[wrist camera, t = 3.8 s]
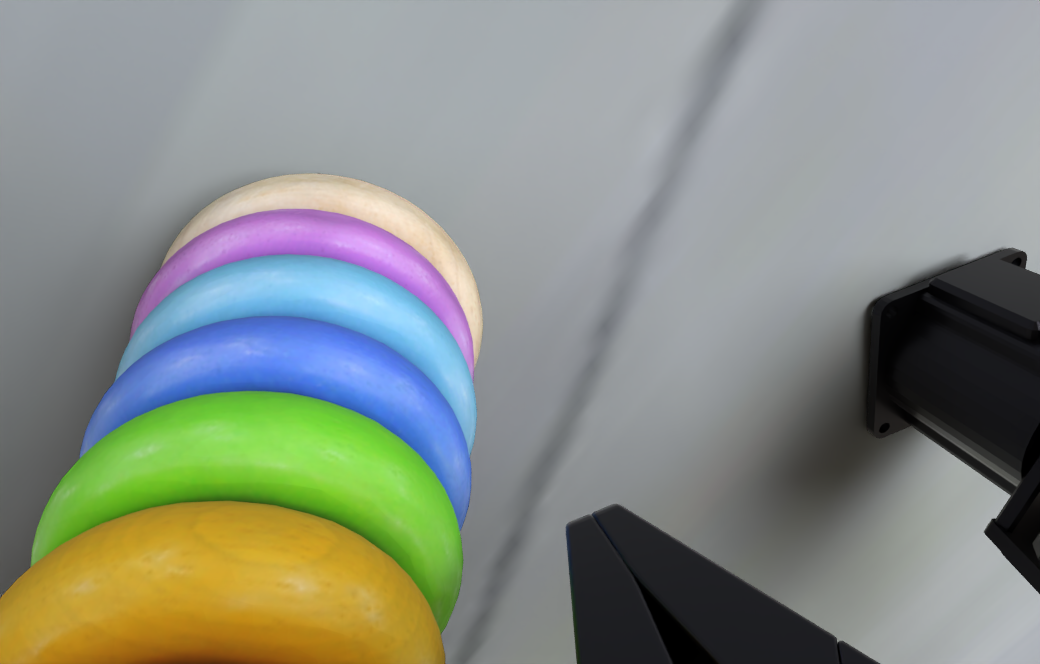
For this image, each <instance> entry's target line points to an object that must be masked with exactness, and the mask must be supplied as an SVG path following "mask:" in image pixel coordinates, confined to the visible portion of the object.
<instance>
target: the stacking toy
mask: <svg viewBox="0 0 1040 664" xmlns="http://www.w3.org/2000/svg"><path fill="white" fill-rule="evenodd" d="M482 333H483V319H482V307H481V302H480V297H479V293H478V289H477V285H476V282H475V279H474V277H473V274H472V272H471V270H470V268H469V266H468V264H467V262H466V260H465V258H464V257H463V255H462V253H461V252H460V250H459V249H458V247H457V246H456V244H455V243H454V242H453V241H452V239H451V238H450V237H449V236H448V234H447V233H446V232H445V231H444V230H443V229H442V228H441V227H440V226H439V225H438V224H437V223H436V222H435V221H434V220H433V219H431V218H430V217H429V216H428V215H427V214H426V213H425V212H423V211H422V210H421V209H419V208H418V207H416V206H415V205H413V204H412V203H410V202H409V201H407V200H406V199H404V198H402V197H400V196H398V195H396V194H394V193H392V192H390V191H388V190H386V189H384V188H381V187H378V186H376V185H373V184H370V183H367V182H365V181H361V180H357V179H352V178H347V177H342V176H335V175H327V174H292V175H283V176H278V177H272V178H267V179H264V180H260V181H257V182H254V183H251V184H248V185H245V186H243V187H240V188H238V189H236V190H233V191H231V192H229V193H227V194H225V195H223V196H222V197H220V198H218V199H217V200H215V201H214V202H212V203H211V204H209V205H208V206H206V207H205V208H204V209H202V210H201V211H200V212H199V213H198V214H197V215H196V216H195V217H193V218H192V219H191V220H190V222H189V223H188V224H187V225H186V226H185V227H184V228H183V229H182V230H181V232H180V233H179V235H178V236H177V237H176V239H175V241H174V242H173V244H172V245H171V247H170V249H169V250H168V252H167V254H166V257H165V259H164V261H163V263H162V266H161V269H160V270H159V271H158V272H157V273H156V275H155V276H154V277H153V279H152V280H151V282H150V283H149V284H148V286H147V288H146V290H145V291H144V293H143V295H142V297H141V299H140V302H139V304H138V306H137V309H136V312H135V315H134V319H133V323H132V327H131V334H130V340H129V344H128V346H127V347H126V349H125V352H124V354H123V356H122V359H121V361H120V364H119V367H118V371H117V374H116V378H115V382H114V383H113V385H112V386H111V387H110V388H109V389H108V391H107V392H106V393H105V394H104V396H103V398H102V399H101V401H100V403H99V404H98V406H97V408H96V409H95V411H94V413H93V415H92V417H91V419H90V422H89V424H88V426H87V429H86V431H85V435H84V439H83V442H82V446H81V451H80V457H79V460H78V461H77V462H76V463H75V464H74V466H73V467H72V468H71V469H70V470H69V471H68V472H67V473H66V474H65V476H64V477H63V478H62V479H61V481H60V482H59V484H58V486H57V487H56V489H55V490H54V492H53V493H52V495H51V497H50V499H49V501H48V503H47V505H46V507H45V509H44V512H43V514H42V517H41V519H40V522H39V525H38V527H37V530H36V534H35V539H34V543H33V547H32V555H31V568H29V569H28V570H27V571H26V572H25V573H24V574H23V575H22V576H20V577H19V578H18V579H17V580H16V581H15V582H14V583H13V584H12V586H11V587H10V588H9V589H8V590H7V591H6V592H5V593H4V594H3V595H2V597H1V598H0V664H445V653H444V648H443V644H442V639H441V633H442V632H443V630H444V629H445V627H446V625H447V623H448V621H449V618H450V616H451V614H452V611H453V609H454V606H455V603H456V601H457V598H458V594H459V590H460V586H461V578H462V569H463V552H462V542H461V536H460V530H461V528H462V525H463V523H464V520H465V517H466V513H467V510H468V507H469V500H470V492H471V462H470V454H471V450H472V447H473V444H474V438H475V431H476V420H477V409H476V399H475V392H474V387H473V379H474V368H475V365H476V362H477V359H478V356H479V352H480V347H481V340H482Z"/></svg>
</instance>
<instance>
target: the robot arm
mask: <svg viewBox="0 0 1040 664" xmlns="http://www.w3.org/2000/svg"><path fill="white" fill-rule="evenodd" d="M1026 261H1027V255H1026V253H1025V252H1023V251H1020V250H1017V249H1015V248H1008V249H1005V250H1003V251H1000V252H998V253H995V254H992V255H990V256H987V257H985V258H982V259H979V260H977V261H974V262H972V263H969V264H967V265H964V266H961V267H959V268H956V269H954V270H951V271H949V272H946V273H943V274H941V275H938V276H936V277H933V278H930V279H928V280H925V281H923V282H920V283H918V284H915V285H912V286H910V287H907V288H905V289H902V290H900V291H897V292H894V293H892V294H889V295H887V296H884V297H883V298H881V299H880V300H879V301H878V302H877V303H876V304H875V306H874V308H873V312H872V330H871V350H870V370H869V390H868V410H867V430H868V431H869V432H870V433H871V434H872V435H874V436H875V437H876V438H883V437H886V436H888V435H890V434H893V433H895V432H898V431H900V430H902V429H905V428H907V427H909V426H912V427H914V428H915V429H917V430H918V431H919V432H921V433H922V434H924V435H925V436H927V437H928V438H929V439H931V440H932V441H934V442H935V443H937V444H938V445H939V446H941V447H942V448H944V449H945V450H947V451H948V452H950V453H951V454H952V455H954V456H955V457H957V458H958V459H960V460H961V461H962V462H964V463H965V464H967V465H968V466H970V467H971V468H972V469H974V470H975V471H977V472H978V473H980V474H981V475H982V476H984V477H985V478H987V479H988V480H990V481H991V482H992V483H994V484H995V485H997V486H998V487H1000V488H1001V489H1002V490H1004V491H1005V492H1007V493H1008V494H1010V495H1011V497H1010V498H1009V500H1008V501H1007V503H1006V504H1005V506H1004V507H1003V509H1002V510H1001V512H1000V513H999V515H998V516H997V518H996V519H992V520H991V521H990V523H989V524H988V526H987V527H986V529H985V530H984V533H985V535H986V536H987V537H988V538H989V539H990V540H991V541H992V542H993V543H994V544H995V545H996V546H997V547H998V548H999V550H1000V551H1001V552H1002V554H1003V555H1004V556H1005V557H1006V559H1007V560H1008V561H1009V562H1010V563H1011V564H1012V565H1013V566H1014V567H1015V568H1016V569H1017V570H1018V571H1019V572H1020V573H1021V575H1022V576H1023V577H1024V578H1025V579H1026V580H1027V581H1028V582H1029V583H1030V584H1031V585H1032V586H1033V587H1034V588H1035V589H1036V591H1037V592H1038V593H1039V594H1040V274H1037V273H1034V272H1032V271H1029V270H1026V269H1025V267H1026ZM566 539H567V551H568V563H569V575H570V587H571V599H572V611H573V623H574V635H575V647H576V659H577V664H880V663H878V662H876V661H875V660H873V659H871V658H870V657H868V656H866V655H865V654H863V653H862V652H860V651H858V650H857V649H855V648H853V647H852V646H850V645H849V644H847V643H845V642H844V641H839V642H838V643H837V639H836V637H835V636H834V635H832V634H830V633H829V632H827V631H825V630H824V629H822V628H820V627H819V626H817V625H816V624H814V623H812V622H811V621H809V620H807V619H806V618H804V617H802V616H801V615H799V614H798V613H796V612H794V611H793V610H791V609H789V608H788V607H786V606H785V605H783V604H781V603H780V602H778V601H776V600H775V599H773V598H771V597H770V596H768V595H767V594H765V593H763V592H762V591H760V590H758V589H757V588H755V587H753V586H752V585H750V584H749V583H747V582H745V581H744V580H742V579H740V578H739V577H737V576H735V575H734V574H732V573H731V572H729V571H727V570H726V569H724V568H722V567H721V566H719V565H718V564H716V563H714V562H713V561H711V560H709V559H708V558H706V557H704V556H703V555H701V554H700V553H698V552H696V551H695V550H693V549H691V548H690V547H688V546H686V545H685V544H683V543H682V542H680V541H678V540H677V539H675V538H673V537H672V536H670V535H668V534H667V533H665V532H664V531H662V530H660V529H659V528H657V527H655V526H654V525H652V524H651V523H649V522H647V521H646V520H644V519H642V518H641V517H639V516H637V515H636V514H634V513H633V512H631V511H629V510H628V509H626V508H624V507H623V506H621V505H619V504H613V505H610V506H608V507H605V508H603V509H600V510H598V511H596V512H594V513H593V514H592V515H586V516H584V517H581V518H579V519H576V520H574V521H572V522H569V523H568V524H567V525H566Z"/></svg>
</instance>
